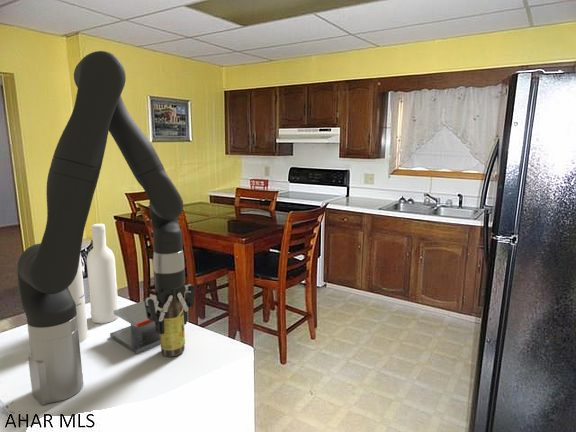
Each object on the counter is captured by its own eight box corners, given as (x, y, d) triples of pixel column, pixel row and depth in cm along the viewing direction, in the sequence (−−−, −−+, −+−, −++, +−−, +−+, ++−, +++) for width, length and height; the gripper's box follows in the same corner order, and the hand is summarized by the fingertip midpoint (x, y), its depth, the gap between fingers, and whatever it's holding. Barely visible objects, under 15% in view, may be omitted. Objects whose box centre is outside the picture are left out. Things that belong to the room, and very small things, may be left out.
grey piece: (136, 354, 104) (134, 325, 102) (110, 337, 113) (108, 310, 111) (181, 334, 114) (180, 308, 113) (154, 320, 123) (153, 296, 122)
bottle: (96, 326, 119) (87, 228, 113) (88, 317, 125) (79, 224, 119) (123, 318, 124) (116, 225, 119) (114, 310, 130) (107, 220, 124)
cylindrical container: (93, 333, 115) (86, 249, 110) (78, 345, 108) (69, 257, 103) (69, 331, 115) (61, 248, 111) (53, 344, 108) (43, 256, 104)
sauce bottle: (188, 353, 104) (185, 281, 101) (164, 360, 101) (160, 286, 97) (181, 343, 110) (178, 274, 106) (158, 349, 106) (154, 278, 103)
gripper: (183, 258, 109) (186, 315, 112) (135, 271, 98) (139, 334, 101) (201, 263, 104) (203, 323, 107) (152, 278, 93) (155, 343, 96)
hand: (172, 328), depth 104 cm, fingers closed on sauce bottle, 6 cm apart
